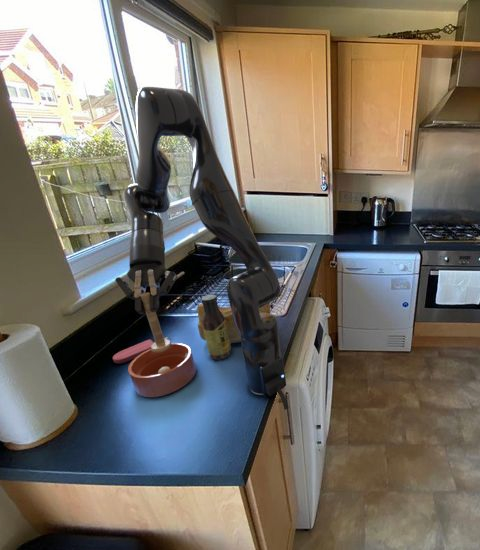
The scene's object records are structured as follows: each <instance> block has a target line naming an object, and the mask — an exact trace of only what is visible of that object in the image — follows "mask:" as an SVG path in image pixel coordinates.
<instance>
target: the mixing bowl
mask: <svg viewBox="0 0 480 550" xmlns="http://www.w3.org/2000/svg"><path fill="white" fill-rule="evenodd" d="M162 367H169V368H170V369H171V370H169V371H166V372H164V373H160V374H158V371H159V369H160V368H162ZM127 368H128V369H127V373H128V375H129V377H130V380H131V382H132V385H133V388H134V390H135V393H136V394H137V395H139V396H141V397H145V398H157V397H162V396H166V395H169V394H171V393H174V392H176V391H178V390H181V388H183V387H185V386H186V385H187V384H189V382H191V381H192V379H193V378H194V377H195V375H196V372H197V366H196V362H195V359H194V355H193V351H192V348H191V347H190V346H189V345H188V344H185V343H181V342H171V347H170V348H169V349H168V350H166V351H163V352H159V353H155V352H153V351H152V349H149V350H147V351H145V352H143V353H142V354H140V355H139V356H137V357H136V358H134V359H132V360H131V362H130V363H129V365H128V367H127Z"/></svg>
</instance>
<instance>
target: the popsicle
mask: <svg viewBox="0 0 480 550" xmlns="http://www.w3.org/2000/svg"><path fill="white" fill-rule="evenodd" d="M165 339H167V340H169V337H168V336H166V337H164V340H165ZM154 343H155V341H153V340H152V339H150V338H149V339H147V340H144V341H141V342H139V343H137V344H135V345H132V346H129V347H127V348H125V349H123V350H120V351H118V352H117V353H115V354H114V355H113V356H112V360H113V363H115V364H124V363H126V362H130V361H133V360H134V359H135V358H136V357H137V356H139V355H140V354H142V353H143V352H145V351H147V350H149V349H151V346H152V344H154Z"/></svg>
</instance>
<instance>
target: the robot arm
mask: <svg viewBox="0 0 480 550" xmlns="http://www.w3.org/2000/svg"><path fill="white" fill-rule="evenodd" d="M136 94H137V95H136V100H135V118H136V133H137V144H138V162H137V168H136V175H135V183H130V184H129V185H127V186H126V187H125V188H124V192H123V197H124V198H123V199H124V201H125V204H126V207H127V209H128V212H129V215H130V220H131V233H130V235H131V237H130V240H129V261H128V262H129V265H128V266H129V269H128V271H127V273H126V274H125V275H124V276H122V277H119V276H118V277H116V278H115V282H116V284H117V285H118V287H119V288H120V289H121V291H122V292H123V294H125V296H126V297H128V299H131V300H134V310H135V312H137V313H138V314H139V315H145V314H146V312H145V309H144V305H143V302H142V299H141V296H140V295H141V294H143V293H147V292H146V291H147V287H149V289H150V295H151V296H150V311H151V312H156V313H157V311H158V310H159V309H160V298H161V297H162V296H167V295H168V293H169V292H170V290H171V289H172V287H173V285H174V284H175V282H176V281H177V279H178V275H177V273H175V271H169V270H167V268H166V259H165V258H166V255H165V254H166V246H165V245H166V244H165V239H164V221H163V218H162V217H161V216H159V215H158V214H163V213H166V212H167V211H168V210H169V209H170V206H171V199H170V194H169V189H168V188H169V183H170V179H171V176H172V164H171V161H170V159H169V157H168V156H167V154H166V153H165V151H164V150H163V149H162V148H161V146H160V143H159V142H160V140H161V138H162V137H185V138H186V140H187V142H188V143H189V147H190V149H191V152H192V155H193V156H192V157H193V166H192V172H191V178H190V181H189V198H190V201H191V203H192V205H193V207H194V210H195V211H196V213H197V215H198V217H199V220H200V222H201V223H202V225H203V227H205V228H206V230H207V231H209V232H210V233H211V234H212V235H214V236H215V237H217V238H218V239H219V240H220V241H222V242H223V243H225V244H226V245H228V246H229V247H230V248H231V249H232V250H233V251H234V252H236V254H237V255H238V256H239V258H240V260H241V261H242V263H243V265H244V266H245V268H246V271H244V272H241V273H238V274H236V275H234V276H232V277H230V278H229V279H228V281H227V283H226V285H227V286H226V294H227V298H228V301H229V307H230V306H231V310H232V314H233V318H234V322H235V324H236V326H237V328H238V330H239V334H240V340H241V342H240V343H241V345H240V346H241V350H242V355H243V360H244V361H243V362H244V366H245V371H246V377H247V382H248V388H249V392H250V393H251V394H253V395H254V396H258V397H264V398H265V399H268V398H270V397H272V396H273V395H275V394H276V393H277V394H278V395H279V397H280V399H281V402H282V406H283V409H284V411H285V410H288V409H289V405H288V400H287V398H286V396H285V394H284V392H283V391H282V390H283V389H284V388H285V387H286V386H287V379H286V373H285V364H284V357H282V349H281V340H280V334H279V326H278V319H277V318H276V316H275V315H274V314H272V313H270V314H269V313H264V312H259V308H261V307H263V306H264V305H266V304H268V303H270V304H271V302H274V301H275V300H277V299H278V298H279V297H280V294H281V284H280V281H279V279H278V276H277V274H276V272H275V270H274V268H273V266H272V265H271V263H270V261H269V260H268V257H267V256H266V255H265V253H264V251H263V250H262V247H261V246H260V244H259V242H258V240H257V239H256V236H255V234H254V233H253V230H252V228H251V226H250V224H249V222H248V219H247V218H246V215H245V213H244V211H243V208H242V206H241V203H240V201H239V199H238V197H237V195H236V193H235V190H234V188H233V186H232V184H231V182H230V180H229V178H228V176H227V174H226V172H225V169H224V167H223V165H222V163H221V161H220V159H219V156H218V153H217V150H216V148H215V145H214V142H213V140H212V137H211V134H210V131H209V129H208V126H207V123H206V120H205V118H204V115H203V113H202V110H201V107H200V105H199V104H198V102H197V100H196V99H195V97H194V96H193V95H192V94H191V92H188V91H187V90H183V89H181V88H180V89H179V88H171V87H170V88H168V87H160V86H159V87H158V86H143V87H141V88H140V89H138V91H137V93H136ZM156 213H157V214H156ZM164 278H165V279H164ZM163 279H164V281H163V282H162V284H161V285H160V283H161V281H162V280H163ZM130 280H131V281H132V282H133V283H134V291H133V290H132V289H131V287H130Z"/></svg>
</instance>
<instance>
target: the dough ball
mask: <svg viewBox="0 0 480 550" xmlns="http://www.w3.org/2000/svg"><path fill="white" fill-rule="evenodd" d="M169 370H171V369H170V368H169V367H162V368H160V369H159V371H158V374H160V373H164V372H166V371H169Z"/></svg>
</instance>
